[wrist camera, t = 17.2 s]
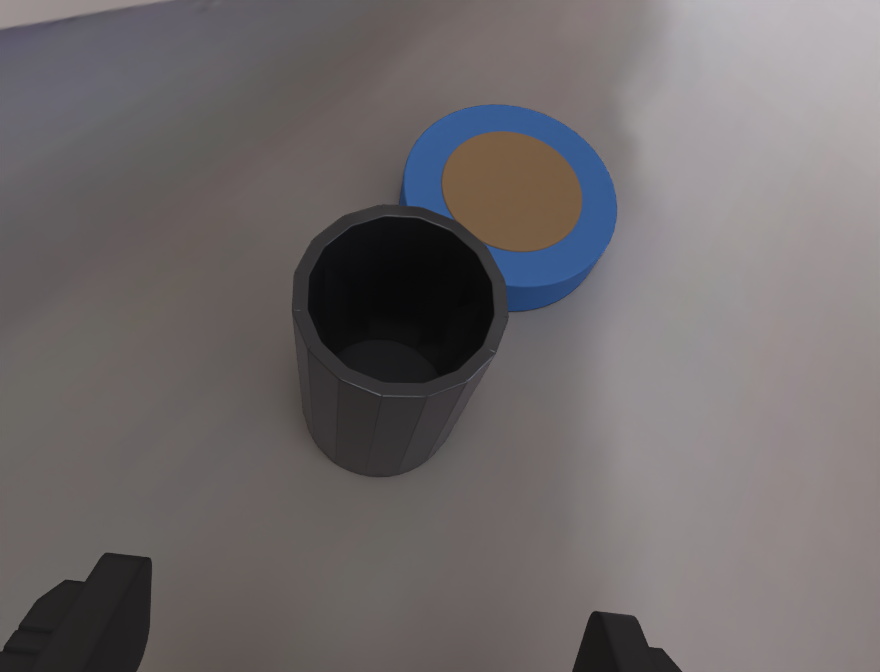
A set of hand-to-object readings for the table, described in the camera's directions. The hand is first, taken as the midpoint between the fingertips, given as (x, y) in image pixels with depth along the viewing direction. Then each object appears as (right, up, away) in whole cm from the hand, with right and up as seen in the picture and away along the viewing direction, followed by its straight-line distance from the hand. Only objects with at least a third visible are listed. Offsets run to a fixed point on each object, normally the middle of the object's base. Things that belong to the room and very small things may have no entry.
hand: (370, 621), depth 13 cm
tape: (+4, +11, +21) cm, 24 cm away
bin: (-1, +2, +17) cm, 17 cm away
